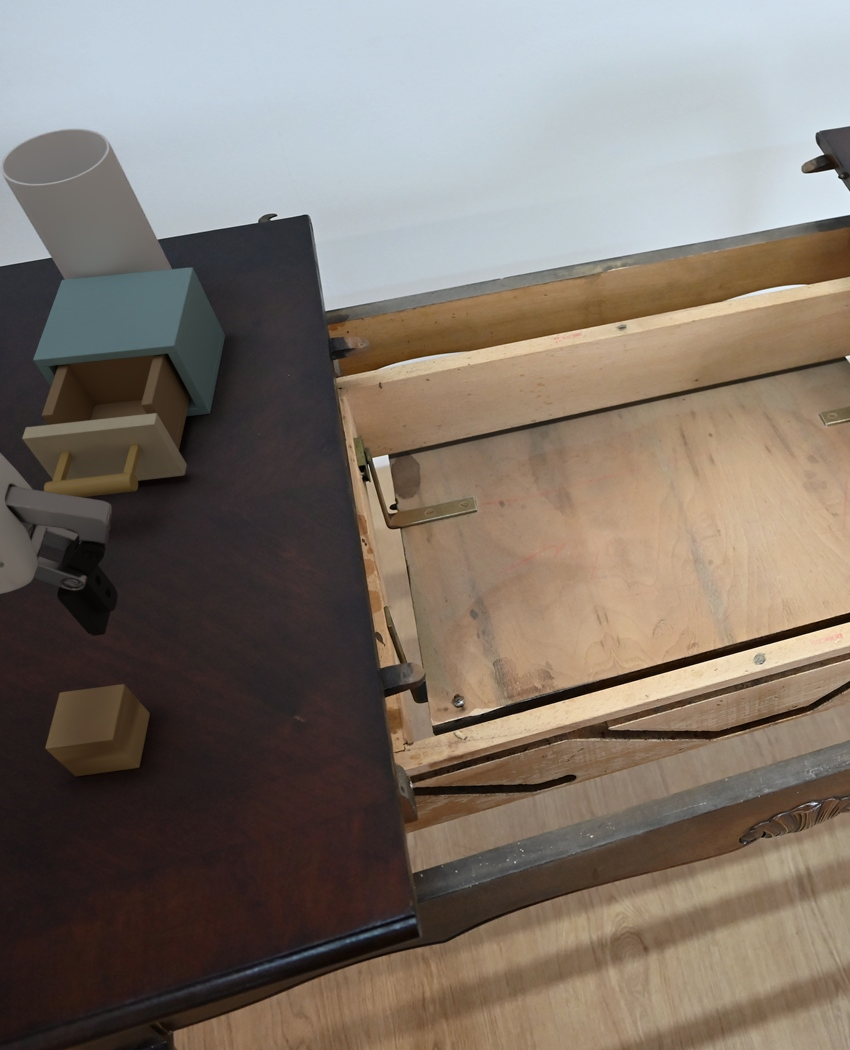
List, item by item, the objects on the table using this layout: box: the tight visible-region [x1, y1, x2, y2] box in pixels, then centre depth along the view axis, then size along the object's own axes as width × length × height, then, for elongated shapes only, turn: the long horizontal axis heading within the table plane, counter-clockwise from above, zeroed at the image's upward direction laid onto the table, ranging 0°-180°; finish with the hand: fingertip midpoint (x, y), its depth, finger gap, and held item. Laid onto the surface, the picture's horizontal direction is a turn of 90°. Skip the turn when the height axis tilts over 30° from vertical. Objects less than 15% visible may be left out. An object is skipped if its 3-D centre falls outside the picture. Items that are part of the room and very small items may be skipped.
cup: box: [0, 128, 173, 280], centre depth 89 cm, size 8×8×16 cm
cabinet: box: [32, 266, 226, 417], centre depth 86 cm, size 10×11×8 cm
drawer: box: [21, 354, 190, 498], centre depth 80 cm, size 13×9×6 cm
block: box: [44, 683, 151, 777], centre depth 66 cm, size 4×4×4 cm
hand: (13, 626), depth 57 cm, fingers open, 9 cm apart
